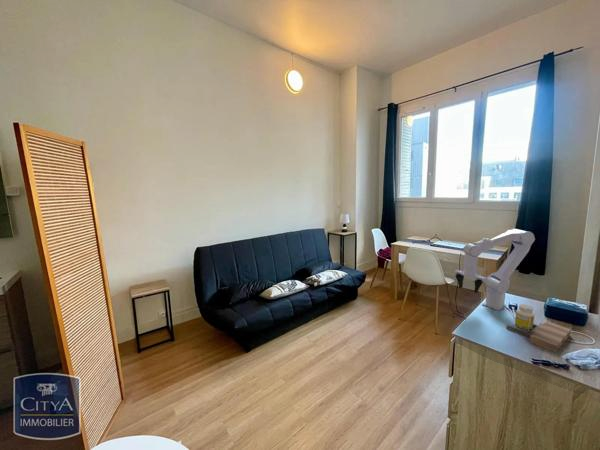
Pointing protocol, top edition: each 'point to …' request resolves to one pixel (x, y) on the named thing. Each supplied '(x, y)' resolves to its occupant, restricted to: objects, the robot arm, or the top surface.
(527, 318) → the pill bottle
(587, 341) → the top surface
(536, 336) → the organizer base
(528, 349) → the top surface
